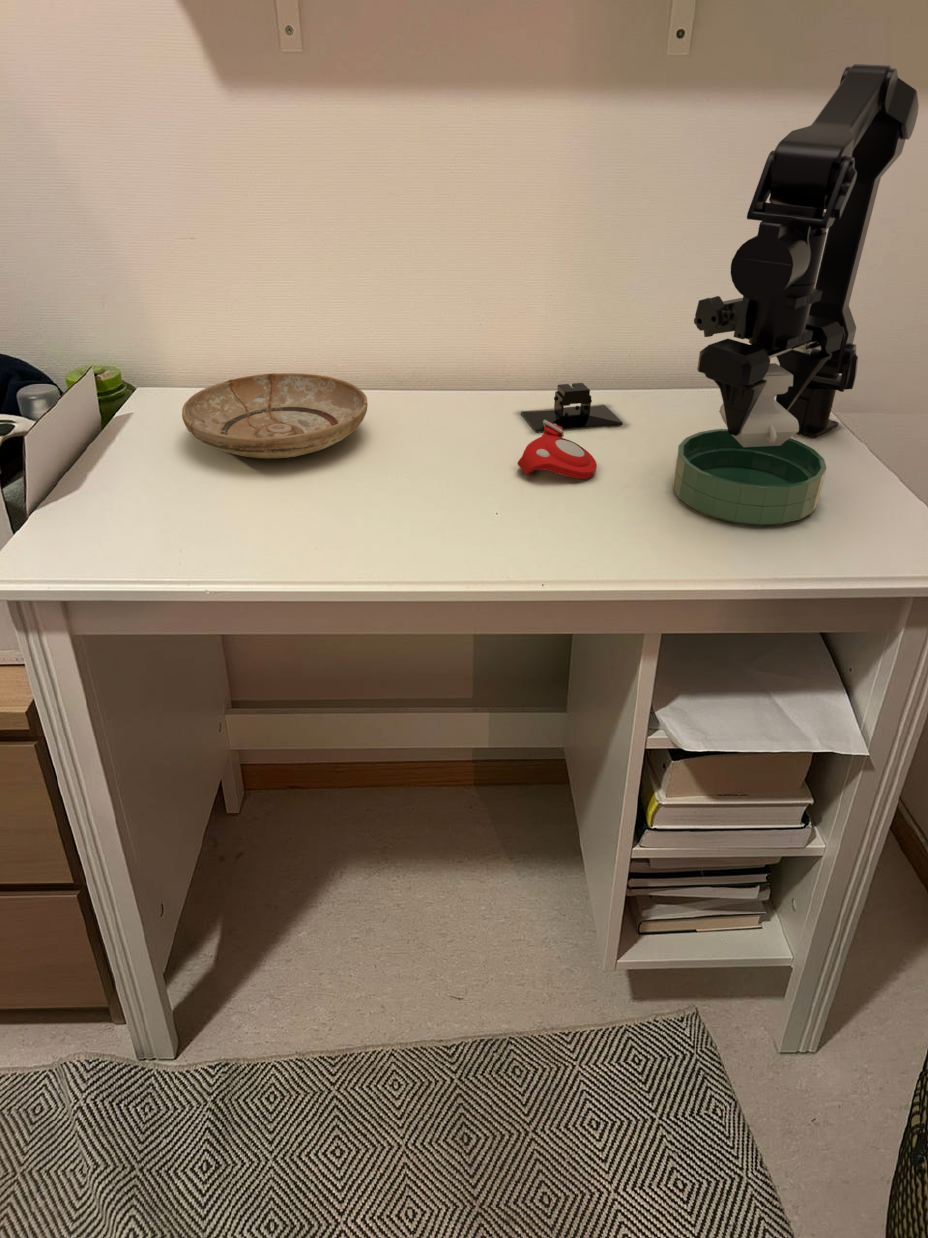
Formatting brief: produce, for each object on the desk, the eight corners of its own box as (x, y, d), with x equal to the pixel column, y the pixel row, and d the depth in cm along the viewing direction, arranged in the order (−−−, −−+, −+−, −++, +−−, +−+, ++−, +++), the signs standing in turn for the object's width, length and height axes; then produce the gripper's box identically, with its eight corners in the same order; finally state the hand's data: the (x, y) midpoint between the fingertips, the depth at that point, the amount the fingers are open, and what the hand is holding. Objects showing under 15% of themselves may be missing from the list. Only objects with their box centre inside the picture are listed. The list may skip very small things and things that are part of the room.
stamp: (799, 456, 100) (816, 381, 95) (741, 459, 99) (756, 384, 94) (765, 424, 107) (779, 353, 102) (711, 427, 106) (723, 355, 102)
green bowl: (725, 455, 116) (732, 418, 113) (842, 499, 106) (853, 459, 103) (644, 492, 107) (649, 452, 104) (764, 544, 97) (773, 501, 94)
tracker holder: (616, 465, 110) (554, 465, 105) (600, 495, 113) (539, 496, 107) (560, 411, 117) (499, 408, 111) (547, 441, 120) (487, 439, 114)
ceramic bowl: (347, 397, 131) (345, 363, 128) (388, 463, 113) (387, 425, 110) (180, 414, 125) (174, 379, 122) (195, 487, 107) (188, 447, 104)
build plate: (603, 407, 130) (607, 375, 127) (623, 426, 124) (628, 393, 121) (520, 413, 127) (522, 380, 125) (536, 433, 121) (539, 399, 119)
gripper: (769, 251, 103) (743, 385, 112) (666, 277, 93) (647, 423, 102) (861, 270, 96) (826, 411, 105) (760, 301, 86) (731, 455, 95)
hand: (757, 423), depth 102 cm, fingers closed on stamp, 9 cm apart
